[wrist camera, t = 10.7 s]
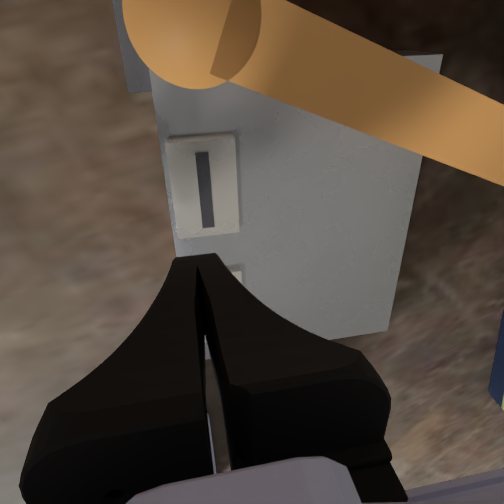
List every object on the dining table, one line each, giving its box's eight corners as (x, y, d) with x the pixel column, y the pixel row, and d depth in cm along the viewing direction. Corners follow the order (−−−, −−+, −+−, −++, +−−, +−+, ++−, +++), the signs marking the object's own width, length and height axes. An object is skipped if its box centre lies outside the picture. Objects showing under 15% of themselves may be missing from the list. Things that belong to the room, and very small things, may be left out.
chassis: (368, 303, 24) (390, 334, 22) (189, 329, 23) (192, 366, 20) (408, 49, 17) (448, 55, 15) (150, 61, 16) (148, 69, 13)
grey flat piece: (251, 83, 17) (268, 96, 14) (129, 90, 16) (122, 105, 13) (247, -68, 14) (267, -88, 11) (101, -68, 13) (86, -90, 11)
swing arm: (535, 109, 16) (580, 119, 14) (482, 190, 17) (516, 208, 16) (144, -85, 11) (140, -104, 9) (117, 55, 12) (109, 61, 10)
